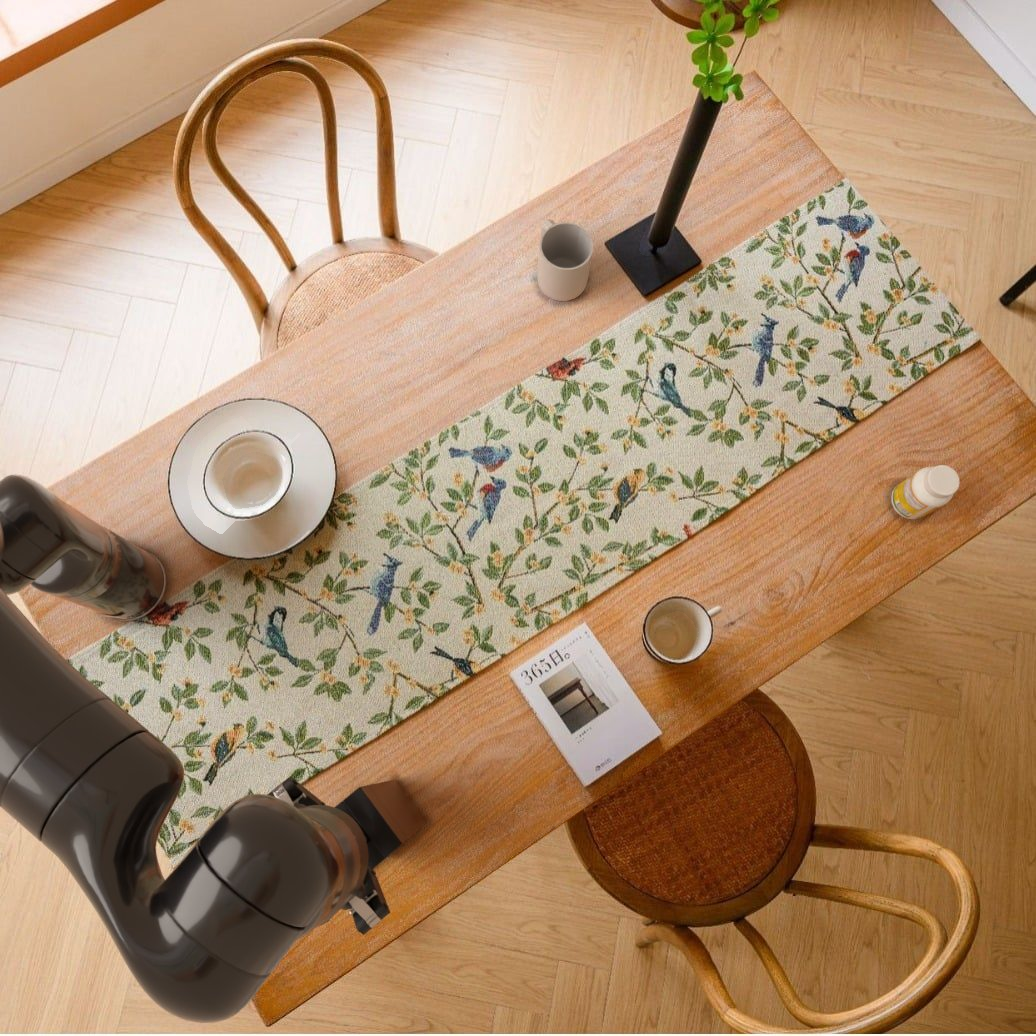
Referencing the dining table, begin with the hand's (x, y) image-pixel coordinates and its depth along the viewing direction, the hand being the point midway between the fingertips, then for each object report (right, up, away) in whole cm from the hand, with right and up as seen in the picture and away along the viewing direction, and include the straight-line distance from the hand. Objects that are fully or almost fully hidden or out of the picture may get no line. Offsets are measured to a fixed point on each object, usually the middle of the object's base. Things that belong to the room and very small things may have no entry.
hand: (345, 843), depth 78 cm
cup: (+20, +63, +52) cm, 85 cm away
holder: (-1, -9, +33) cm, 34 cm away
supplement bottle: (+68, +30, +45) cm, 86 cm away
